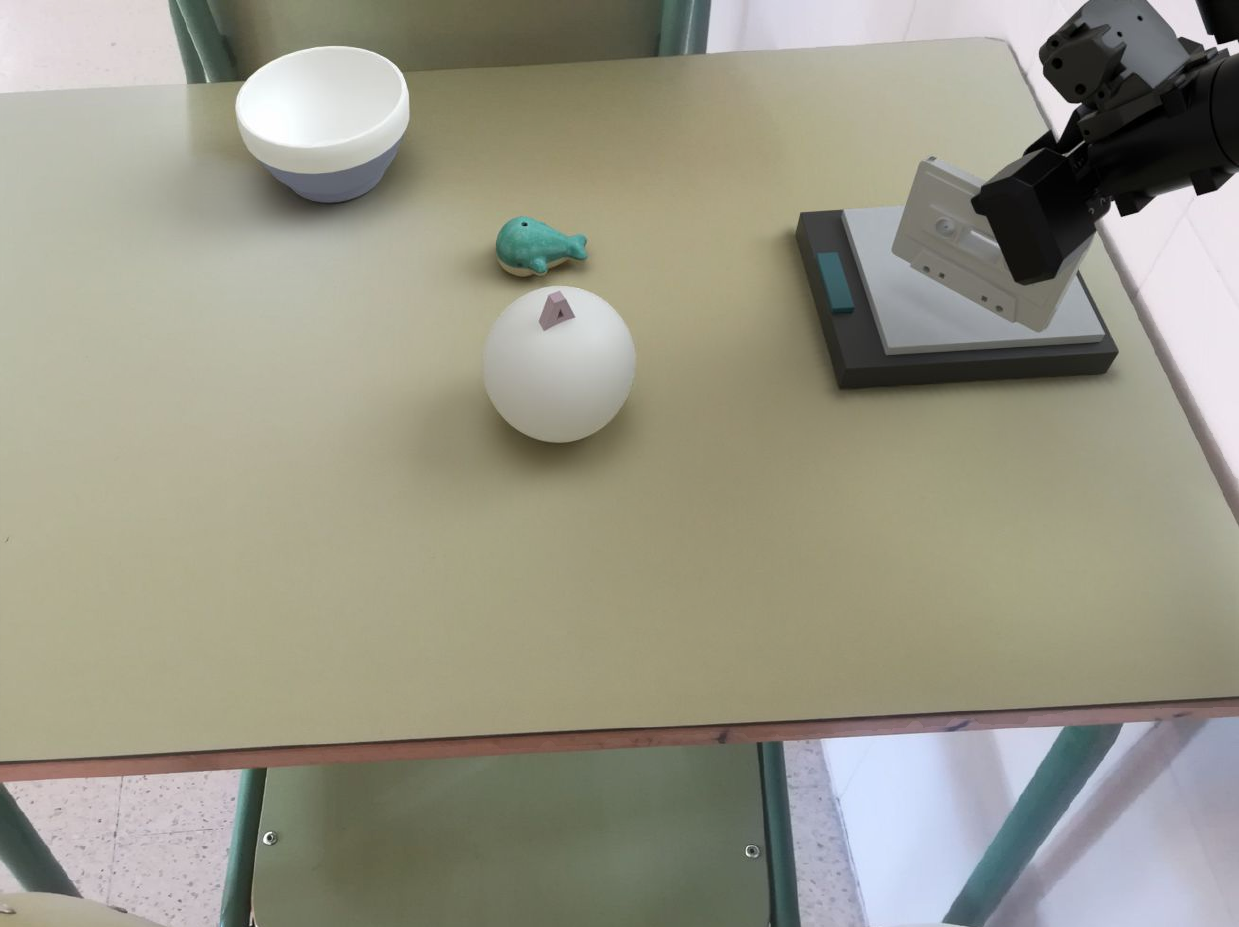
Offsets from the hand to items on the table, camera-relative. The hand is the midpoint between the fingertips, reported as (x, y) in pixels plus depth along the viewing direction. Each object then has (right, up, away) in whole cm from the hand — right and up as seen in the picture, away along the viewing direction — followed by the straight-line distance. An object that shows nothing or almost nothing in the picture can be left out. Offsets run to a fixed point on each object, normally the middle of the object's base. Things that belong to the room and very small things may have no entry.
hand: (980, 200), depth 67 cm
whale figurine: (-27, +1, +18) cm, 33 cm away
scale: (+4, -3, +13) cm, 14 cm away
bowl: (-45, +11, +26) cm, 53 cm away
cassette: (+1, -5, +5) cm, 7 cm away
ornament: (-27, -13, +9) cm, 31 cm away
